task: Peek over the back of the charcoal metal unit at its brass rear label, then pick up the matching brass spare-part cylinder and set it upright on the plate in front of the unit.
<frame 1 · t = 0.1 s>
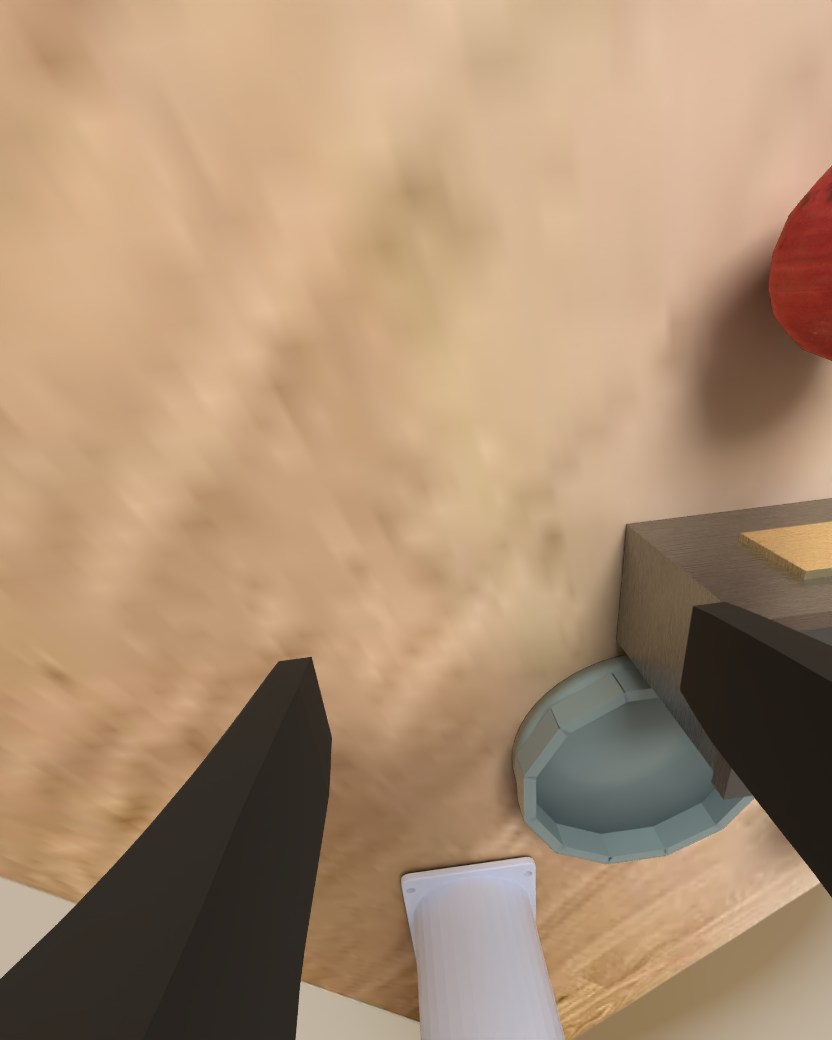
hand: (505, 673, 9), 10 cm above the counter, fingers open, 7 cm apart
plate: (625, 744, 24), on the counter
onion: (787, 265, 16), on the counter
unit: (754, 568, 20), on the counter
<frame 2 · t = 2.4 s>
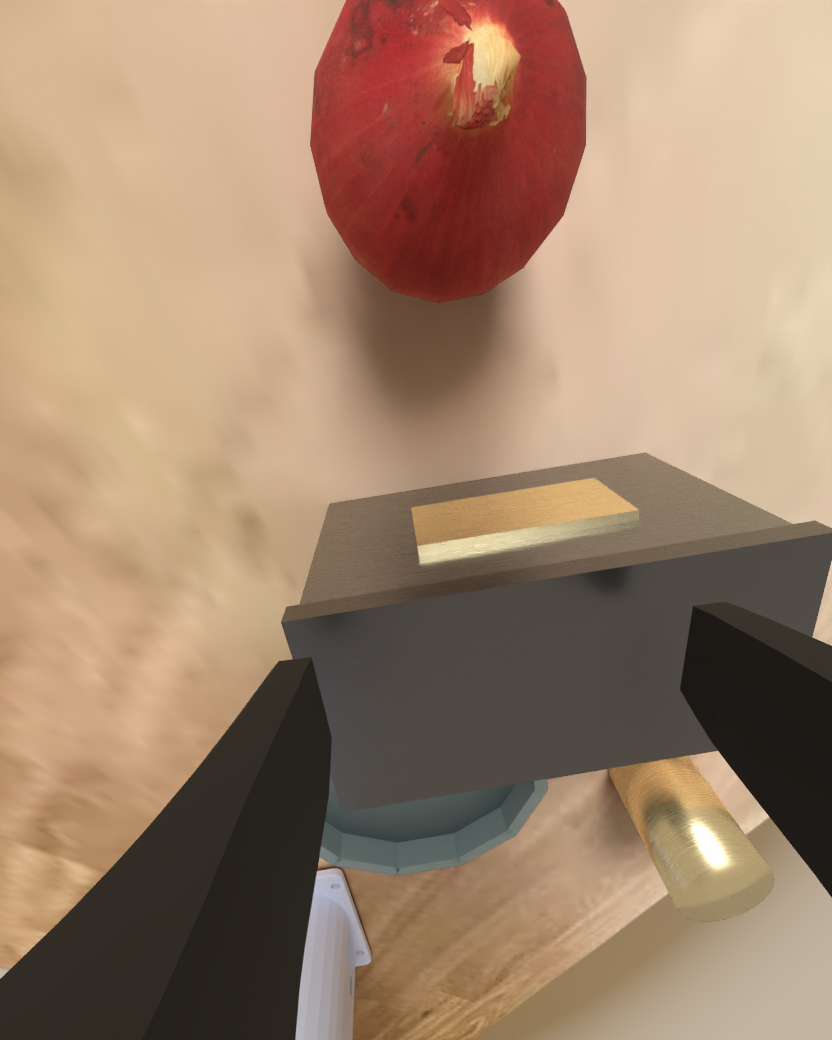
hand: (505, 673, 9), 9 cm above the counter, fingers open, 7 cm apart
plate: (408, 746, 22), on the counter
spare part: (645, 762, 24), on the counter
onion: (428, 198, 14), on the counter
unit: (493, 549, 18), on the counter
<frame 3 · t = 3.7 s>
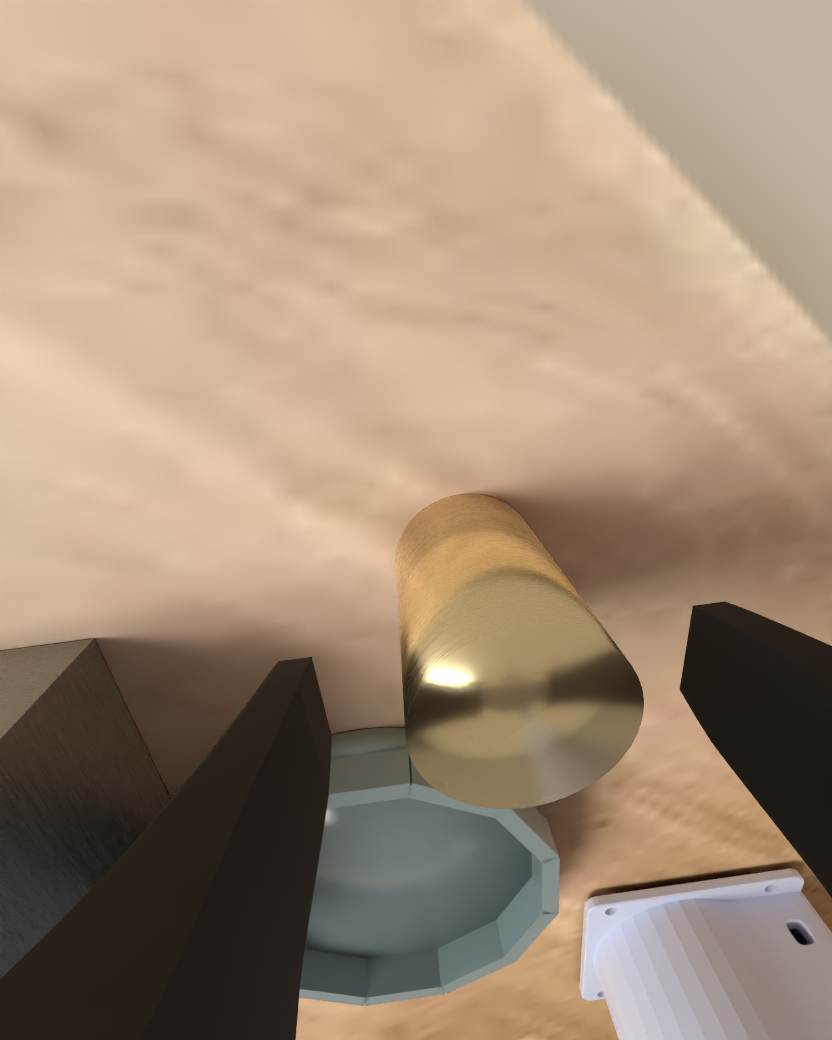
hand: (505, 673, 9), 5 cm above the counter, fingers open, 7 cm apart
plate: (384, 844, 18), on the counter
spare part: (465, 559, 13), on the counter
unit: (73, 792, 16), on the counter
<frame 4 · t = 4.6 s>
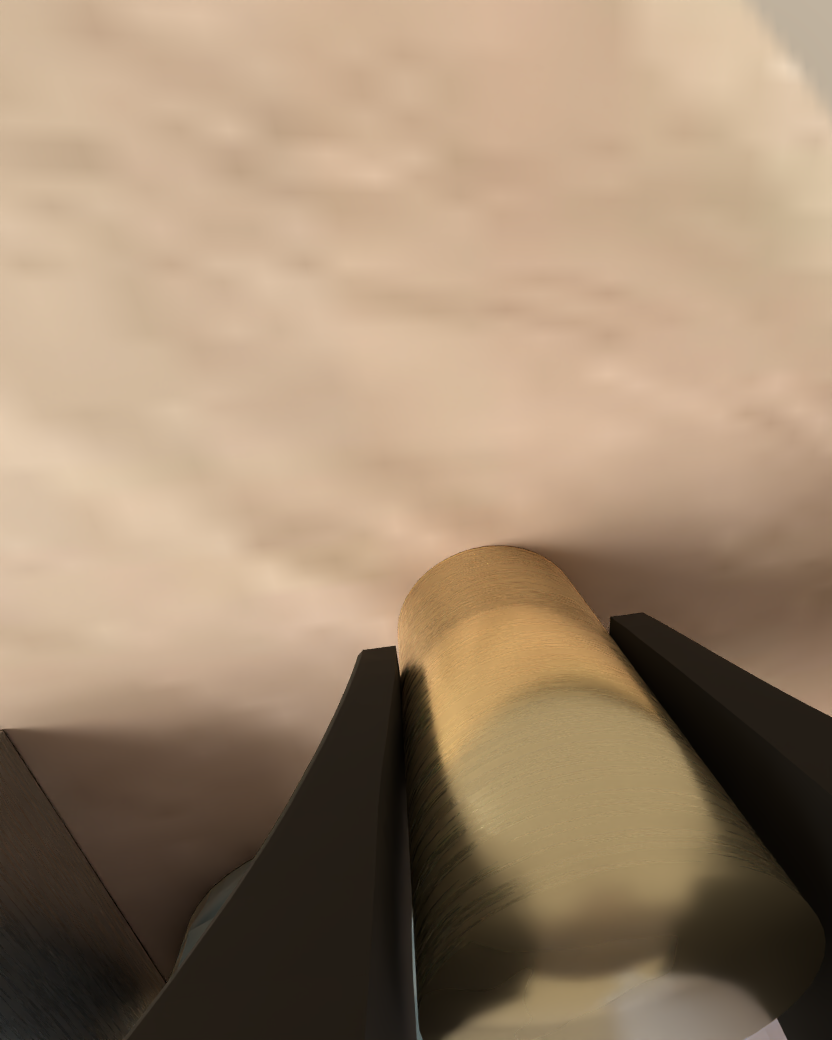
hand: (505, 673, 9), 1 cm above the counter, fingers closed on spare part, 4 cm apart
plate: (383, 949, 15), on the counter
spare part: (489, 627, 10), on the counter, touching gripper
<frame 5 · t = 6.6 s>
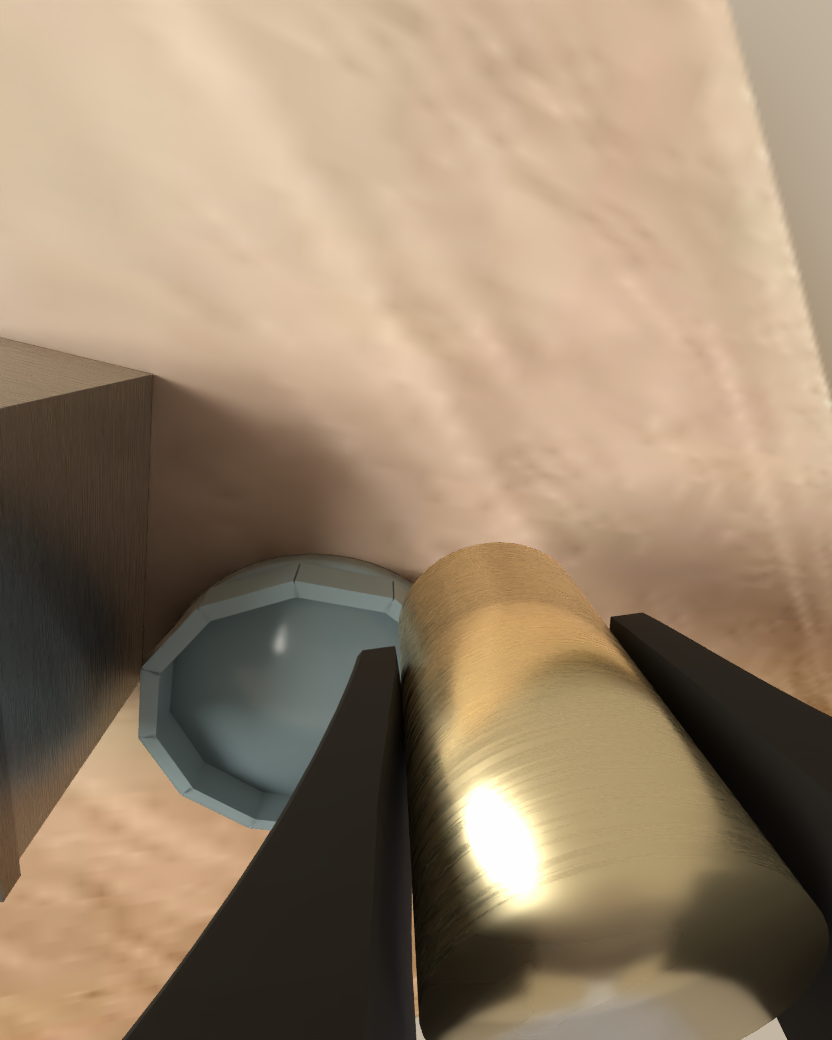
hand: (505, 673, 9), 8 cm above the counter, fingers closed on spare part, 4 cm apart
plate: (320, 684, 19), on the counter
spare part: (489, 624, 10), point 7 cm above the counter, touching gripper
unit: (53, 529, 16), on the counter
when the fingers open (4 cm above the counter, at t = 8.4 s): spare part drops 1 cm, resting on plate.
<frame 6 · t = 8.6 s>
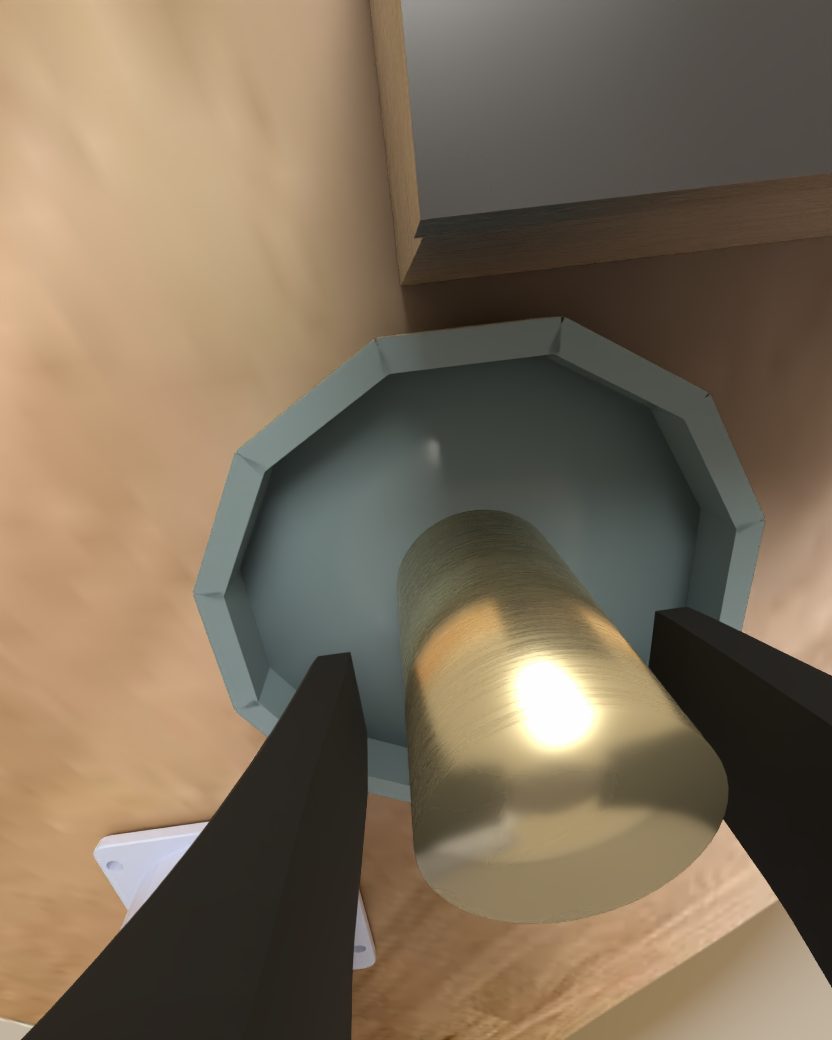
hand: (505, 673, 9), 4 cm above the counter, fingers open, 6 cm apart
plate: (469, 571, 12), on the counter
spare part: (477, 584, 11), point 1 cm above the counter, touching plate
unit: (703, 66, 8), on the counter
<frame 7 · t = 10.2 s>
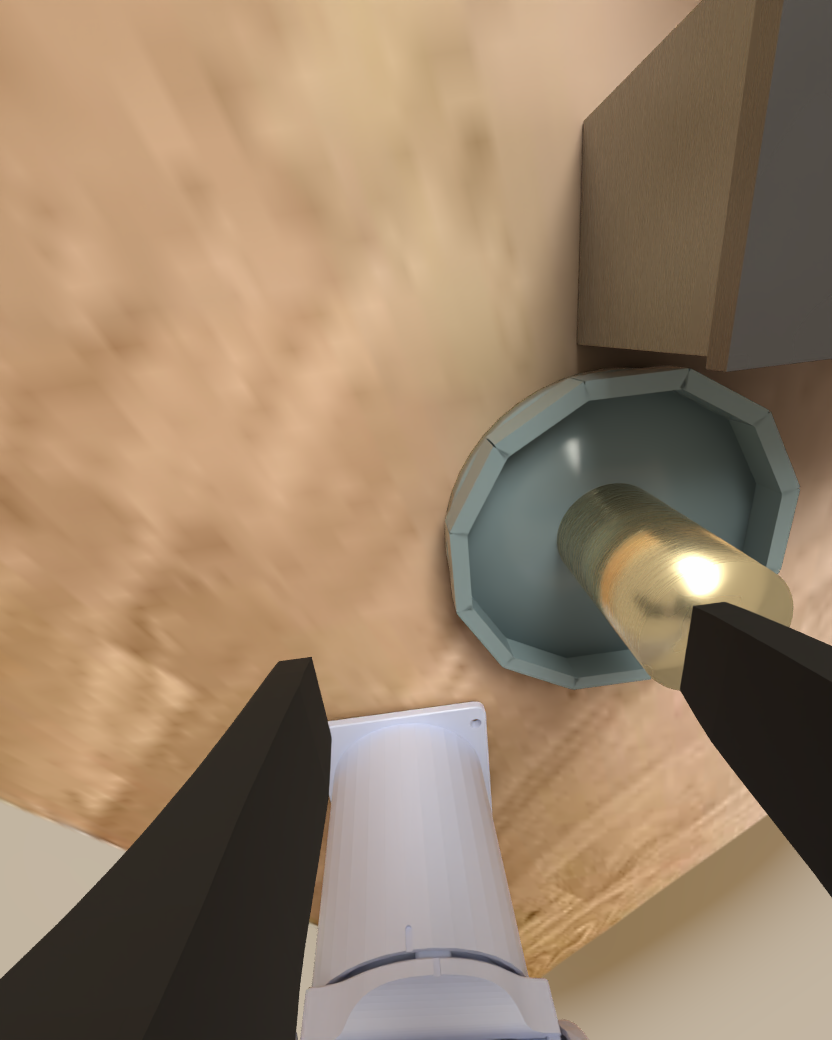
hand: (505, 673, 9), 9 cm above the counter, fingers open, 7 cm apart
plate: (596, 527, 18), on the counter
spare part: (609, 533, 17), point 1 cm above the counter, touching plate
unit: (767, 220, 14), on the counter
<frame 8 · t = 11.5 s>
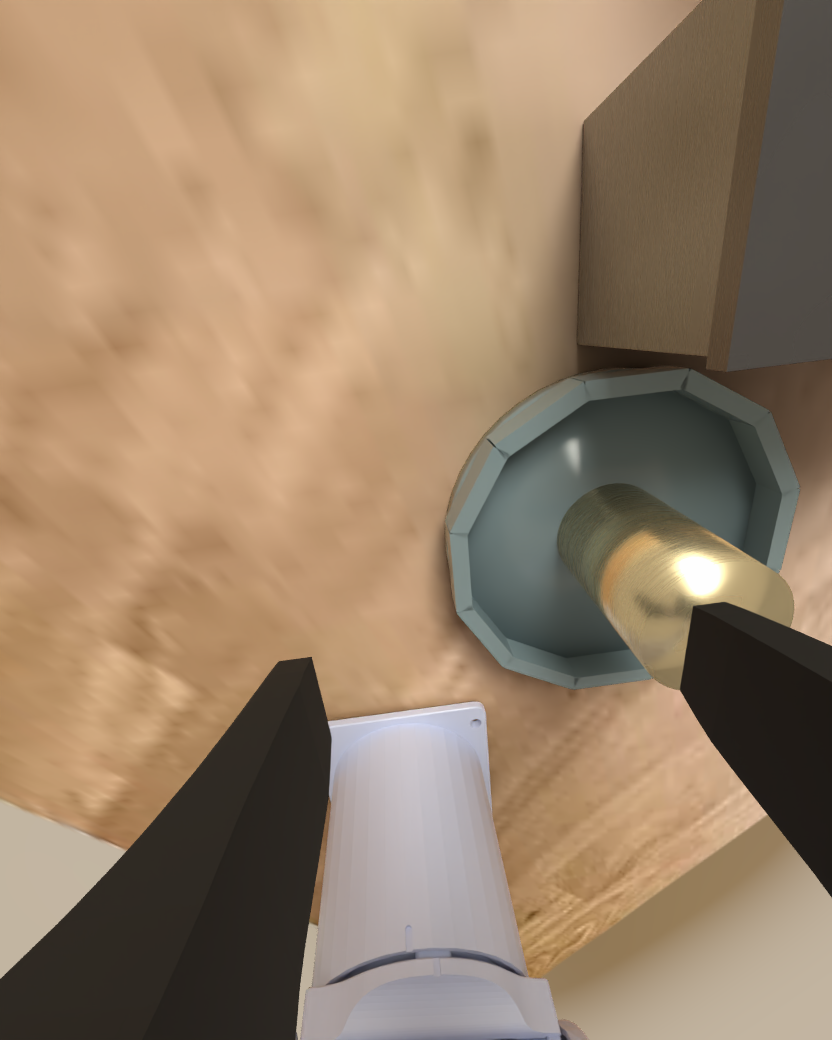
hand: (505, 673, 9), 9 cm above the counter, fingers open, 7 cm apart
plate: (596, 527, 18), on the counter
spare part: (609, 533, 17), point 1 cm above the counter, touching plate
unit: (767, 220, 14), on the counter
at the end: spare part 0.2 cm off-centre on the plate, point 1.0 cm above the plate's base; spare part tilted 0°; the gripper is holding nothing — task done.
